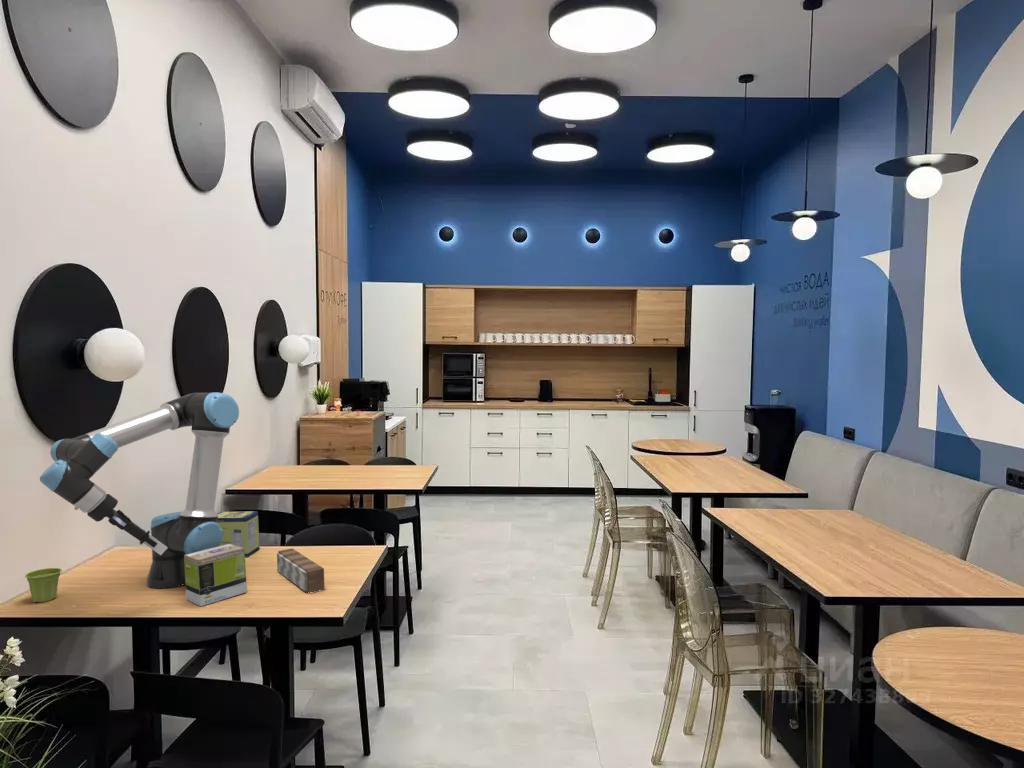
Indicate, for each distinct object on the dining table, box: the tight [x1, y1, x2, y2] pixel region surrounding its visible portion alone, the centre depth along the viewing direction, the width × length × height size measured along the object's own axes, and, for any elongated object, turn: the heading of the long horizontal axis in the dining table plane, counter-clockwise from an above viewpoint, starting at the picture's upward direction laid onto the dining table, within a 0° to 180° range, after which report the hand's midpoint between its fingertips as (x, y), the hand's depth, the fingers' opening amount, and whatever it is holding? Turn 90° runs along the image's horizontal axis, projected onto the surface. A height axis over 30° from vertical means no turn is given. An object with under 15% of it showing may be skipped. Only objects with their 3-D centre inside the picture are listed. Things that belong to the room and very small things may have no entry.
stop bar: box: [276, 548, 325, 594], centre depth 215 cm, size 30×6×7 cm, turn 38°
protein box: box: [217, 510, 260, 558], centre depth 248 cm, size 10×16×16 cm
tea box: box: [184, 544, 248, 607], centre depth 201 cm, size 15×10×15 cm, turn 141°
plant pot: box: [24, 567, 63, 603], centre depth 202 cm, size 9×9×9 cm
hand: (163, 551), depth 191 cm, fingers closed
